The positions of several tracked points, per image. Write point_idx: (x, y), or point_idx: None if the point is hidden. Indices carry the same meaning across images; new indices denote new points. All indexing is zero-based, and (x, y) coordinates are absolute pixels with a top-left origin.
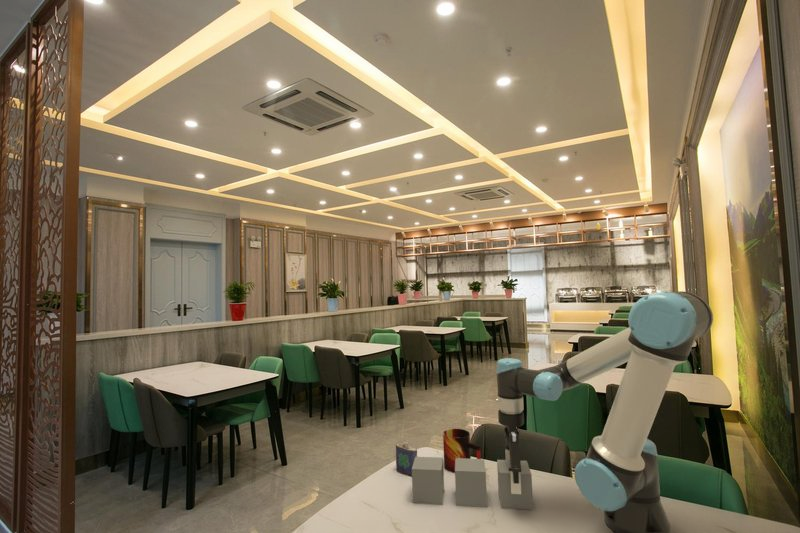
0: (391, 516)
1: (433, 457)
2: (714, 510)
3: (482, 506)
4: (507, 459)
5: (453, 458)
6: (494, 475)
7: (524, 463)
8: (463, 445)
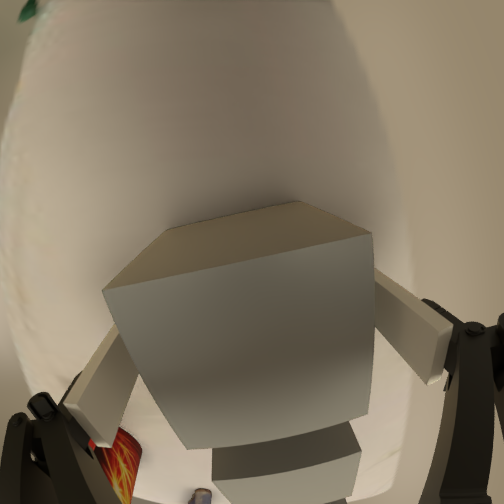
0: (372, 465)
1: None
2: None
3: None
4: (121, 398)
5: (133, 478)
6: (85, 359)
7: (164, 306)
8: None
